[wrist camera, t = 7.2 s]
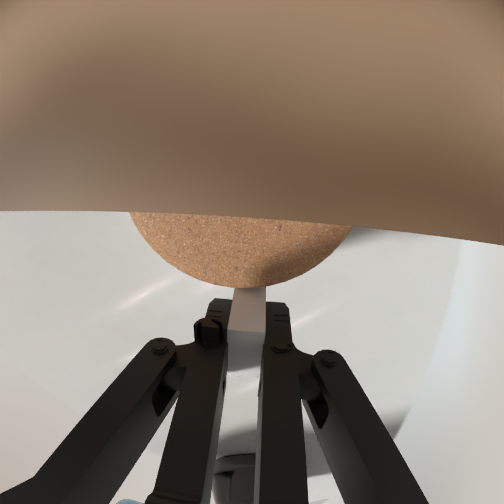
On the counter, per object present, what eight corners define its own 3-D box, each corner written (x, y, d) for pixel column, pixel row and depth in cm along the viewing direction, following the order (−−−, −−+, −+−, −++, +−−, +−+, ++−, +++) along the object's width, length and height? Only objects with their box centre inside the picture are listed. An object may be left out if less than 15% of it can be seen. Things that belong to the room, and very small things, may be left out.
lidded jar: (241, 48, 15) (221, -15, 7) (361, 154, 18) (433, 178, 9) (142, 168, 19) (61, 202, 10) (256, 261, 21) (251, 349, 13)
